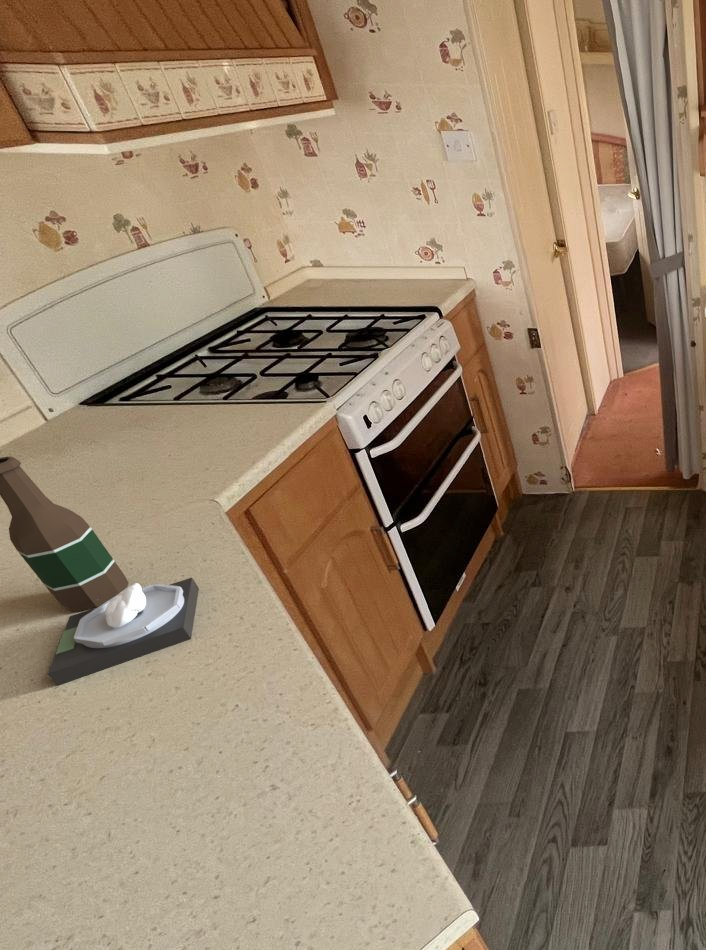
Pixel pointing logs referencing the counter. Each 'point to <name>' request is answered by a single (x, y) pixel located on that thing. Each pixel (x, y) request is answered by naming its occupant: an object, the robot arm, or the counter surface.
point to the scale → (125, 632)
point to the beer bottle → (58, 544)
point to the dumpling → (125, 606)
